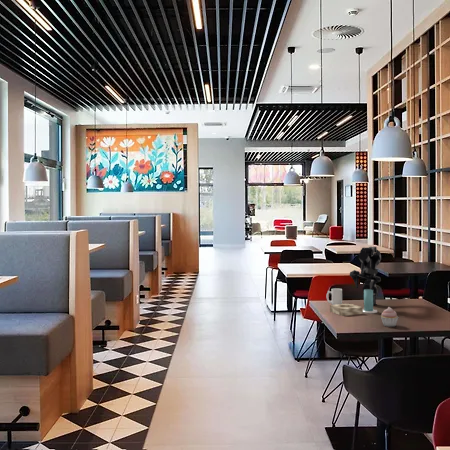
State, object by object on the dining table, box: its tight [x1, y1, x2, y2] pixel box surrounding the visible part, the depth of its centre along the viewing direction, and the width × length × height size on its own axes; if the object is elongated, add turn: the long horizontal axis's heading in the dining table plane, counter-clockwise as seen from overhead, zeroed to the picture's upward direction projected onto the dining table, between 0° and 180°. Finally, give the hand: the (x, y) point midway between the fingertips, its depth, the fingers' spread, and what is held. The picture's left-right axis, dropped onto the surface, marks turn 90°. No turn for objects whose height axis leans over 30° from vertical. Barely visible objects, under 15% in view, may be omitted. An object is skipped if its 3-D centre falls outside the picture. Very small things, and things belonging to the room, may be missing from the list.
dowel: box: [363, 289, 374, 311], centre depth 296 cm, size 5×5×12 cm
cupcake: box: [380, 306, 399, 328], centre depth 258 cm, size 9×9×10 cm
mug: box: [326, 287, 343, 305], centre depth 312 cm, size 10×7×12 cm, turn 73°
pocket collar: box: [329, 303, 364, 317], centre depth 295 cm, size 14×14×4 cm
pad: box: [363, 308, 378, 314], centre depth 296 cm, size 10×10×1 cm
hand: (364, 289), depth 303 cm, fingers open, 9 cm apart
